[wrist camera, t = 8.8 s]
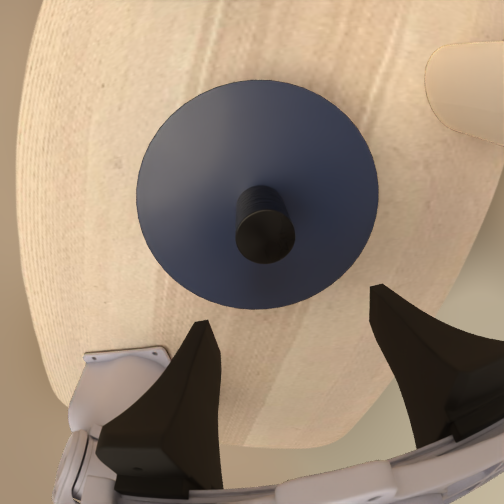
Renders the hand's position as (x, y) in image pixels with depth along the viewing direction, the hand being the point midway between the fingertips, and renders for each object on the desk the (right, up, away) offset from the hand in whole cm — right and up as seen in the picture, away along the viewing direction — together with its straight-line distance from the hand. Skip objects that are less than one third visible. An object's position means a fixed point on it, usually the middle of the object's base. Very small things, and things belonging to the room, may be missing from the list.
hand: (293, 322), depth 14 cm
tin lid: (-1, +5, +3) cm, 6 cm away
